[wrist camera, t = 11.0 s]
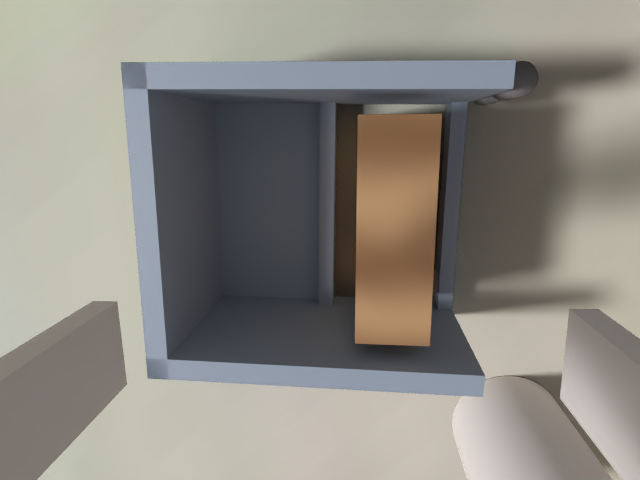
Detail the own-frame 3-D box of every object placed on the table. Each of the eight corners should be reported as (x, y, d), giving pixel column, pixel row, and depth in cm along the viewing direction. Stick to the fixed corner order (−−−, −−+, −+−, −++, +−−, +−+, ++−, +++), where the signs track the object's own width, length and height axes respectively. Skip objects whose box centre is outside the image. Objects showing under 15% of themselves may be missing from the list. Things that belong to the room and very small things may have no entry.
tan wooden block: (359, 120, 32) (357, 114, 22) (432, 119, 31) (463, 113, 22) (357, 284, 35) (354, 343, 25) (424, 286, 34) (448, 347, 24)
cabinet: (467, 316, 34) (514, 398, 24) (211, 305, 36) (147, 378, 25) (487, 82, 30) (554, 54, 20) (200, 83, 32) (120, 57, 22)
